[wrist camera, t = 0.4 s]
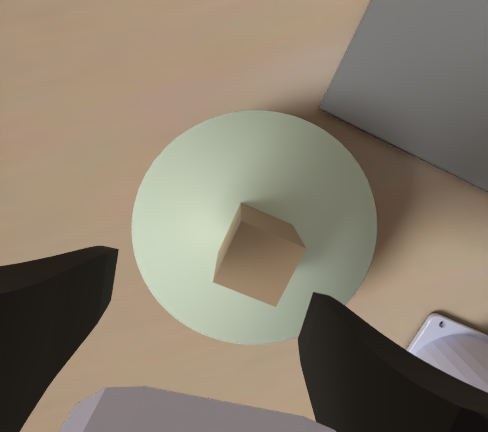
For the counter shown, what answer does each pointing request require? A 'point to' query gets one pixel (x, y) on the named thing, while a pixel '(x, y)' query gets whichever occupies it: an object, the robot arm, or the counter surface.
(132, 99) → the counter surface
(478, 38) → the mat
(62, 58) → the counter surface
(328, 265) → the lid
